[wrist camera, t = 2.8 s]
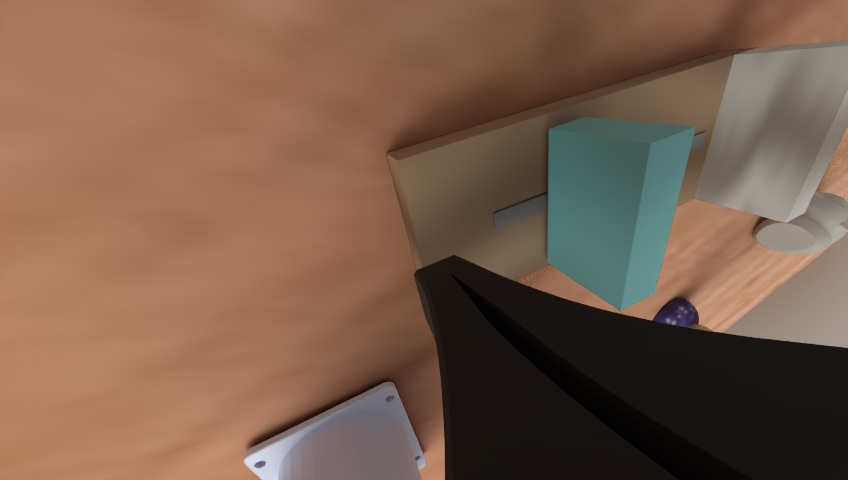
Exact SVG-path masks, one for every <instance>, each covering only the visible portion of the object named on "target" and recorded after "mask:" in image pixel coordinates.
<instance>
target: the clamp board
mask: <svg viewBox="0 0 848 480" xmlns="http://www.w3.org/2000/svg"><path fill="white" fill-rule="evenodd" d="M583 117H592V118H603V119H615V120H626V121H638V122H650V123H661V124H673V125H684V126H696V128H695V132H694V136H693V140H692V144H691V148H690V153H689V157H688V161H687V165H686V169H685V173H684V177H683V181H682V185H681V189H680V193H679V197H678V201H677V205H676V207H677V206H679V205H682V204H684V203H686V202H688V201H690V200H693V199H697V200H701V201H705V202H709V203H712V204H716V205H720V206H724V207H728V208H731V209H735V210H739V211H743V212H746V213H750V214H754V215H758V216H761V217H765V218H769V219H773V220H776V221H780V222H784V223H787V222H788V221H790V220H792V219H794V218H796V217H798V216H800V215H802V214H803V213H805V211H806V209H807V207H808V205H809V203H810V201H811V199H812V197H813V195H814V193H815V191H816V189H817V187H818V185H819V183H820V181H821V179H822V177H823V175H824V173H825V171H826V169H827V167H828V165H829V163H830V161H831V159H832V157H833V155H834V153H835V151H836V149H837V147H838V145H839V143H840V141H841V139H842V136H843V134H844V132H845V130H846V128H847V126H848V40H841V41H830V42H820V43H809V44H798V45H787V46H777V47H766V48H759V47H758V48H747V49H737V50H726V51H720V52H717V53H713V54H710V55H707V56H703V57H700V58H697V59H694V60H690V61H687V62H684V63H680V64H677V65H674V66H671V67H667V68H664V69H661V70H658V71H654V72H651V73H648V74H644V75H641V76H638V77H635V78H631V79H628V80H625V81H621V82H618V83H615V84H612V85H608V86H605V87H602V88H598V89H595V90H592V91H589V92H585V93H582V94H579V95H575V96H572V97H569V98H566V99H562V100H559V101H556V102H552V103H549V104H546V105H543V106H539V107H536V108H533V109H529V110H526V111H523V112H520V113H516V114H513V115H510V116H506V117H503V118H500V119H497V120H493V121H490V122H487V123H483V124H480V125H477V126H474V127H470V128H467V129H464V130H460V131H457V132H454V133H451V134H447V135H444V136H441V137H437V138H434V139H431V140H428V141H424V142H421V143H418V144H414V145H411V146H408V147H405V148H401V149H398V150H395V151H391V152H388V153H386V155H387V159H388V163H389V167H390V170H391V174H392V178H393V182H394V185H395V189H396V193H397V197H398V200H399V204H400V208H401V212H402V215H403V219H404V223H405V227H406V230H407V234H408V238H409V242H410V245H411V249H412V253H413V257H414V260H415V264H416V268H417V270H418V269H420V268H423V267H425V266H428V265H430V264H433V263H435V262H438V261H440V260H442V259H445V258H447V257H450V256H452V255H456V256H458V257H461V258H463V259H465V260H467V261H470V262H472V263H474V264H476V265H478V266H481V267H483V268H485V269H487V270H490V271H492V272H494V273H497V274H499V275H501V276H504V277H506V278H509V279H511V280H513V281H514V280H517V279H519V278H521V277H523V276H525V275H528V274H530V273H532V272H534V271H536V270H539V269H541V268H543V267H545V266H547V265H550V264H549V263H548V262H547V254H548V154H549V129H550V128H553V127H556V126H559V125H562V124H565V123H568V122H571V121H574V120H577V119H580V118H583Z"/></svg>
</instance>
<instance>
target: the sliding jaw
mask: <svg viewBox="0 0 848 480" xmlns="http://www.w3.org/2000/svg"><path fill="white" fill-rule="evenodd" d="M695 128H696V126H684V125H673V124H661V123H650V122H638V121H626V120H615V119H603V118H592V117H583V118H580V119H577V120H574V121H571V122H568V123H565V124H562V125H559V126H556V127H553V128H550V129H549V154H548V254H547V262H548V263H549V264H551V265H552V266H554V267H555V268H557V269H558V270H560V271H561V272H563V273H564V274H566V275H567V276H569V277H570V278H572V279H573V280H575V281H576V282H578V283H579V284H581V285H582V286H584V287H585V288H587V289H588V290H590V291H591V292H593V293H594V294H596V295H597V296H599V297H600V298H602V299H603V300H605V301H606V302H608V303H609V304H611V305H612V306H614V307H615V308H617V309H618V310H620V311H622V310H624V309H625V308H627V307H629V306H631V305H633V304H635V303H637V302H639V301H640V300H642V299H644V298H646V297H648V296H650V295H652V294H654V293H655V289H656V285H657V281H658V277H659V273H660V269H661V265H662V261H663V257H664V253H665V249H666V245H667V241H668V237H669V233H670V229H671V225H672V221H673V217H674V213H675V209H676V205H677V201H678V197H679V193H680V189H681V185H682V181H683V177H684V173H685V169H686V165H687V161H688V157H689V153H690V148H691V144H692V140H693V136H694V132H695Z"/></svg>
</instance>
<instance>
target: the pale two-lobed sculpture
mask: <svg viewBox="0 0 848 480" xmlns="http://www.w3.org/2000/svg"><path fill="white" fill-rule="evenodd" d="M847 232H848V204H847V202H846V201H845V200H844V199H843V198H842V197H840V196H837V195H834V194H830V193H820V192H818V191H815V193H814V195H813V197H812V199H811V201H810V203H809V205H808V207H807V209H806V211H805V213H803V214H802V215H800V216H798V217H796V218H794V219H792V220H790V221H788V222H787V223H784V222H780V221H776V220H773V219H766V220H764V221H763V222H761V223H760V224H758V225H757V227H756V228H755V230H754V233H753V238H754V240H755V241H756V242H757V243H758V244H760V245H761V246H763V247H765V248H768V249H770V250H773V251H776V252H780V253H785V254H794V255H798V254H809V253H815V252H819V251H822V250H824V249H826V248H827V247H828V246H829V245H830V244H831V243H833V242H835V241H837V240H839V239H840V238H841V237H843V236H844V235H845V234H846V233H847Z"/></svg>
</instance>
